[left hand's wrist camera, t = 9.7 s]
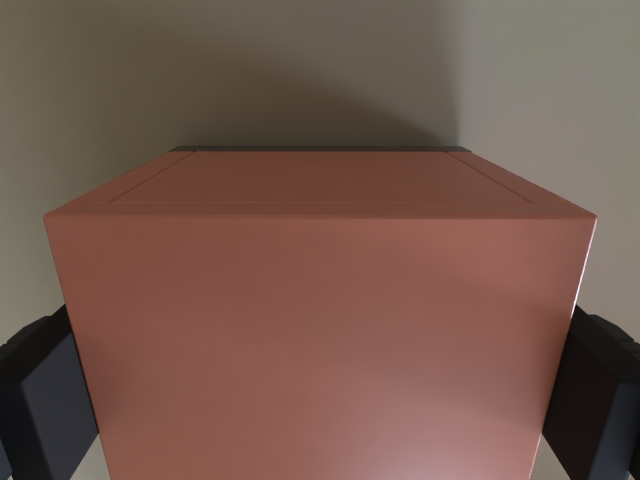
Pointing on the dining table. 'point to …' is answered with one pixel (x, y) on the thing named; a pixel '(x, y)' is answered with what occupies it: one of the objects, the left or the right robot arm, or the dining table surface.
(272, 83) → the dining table surface
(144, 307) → the salmon pink box
